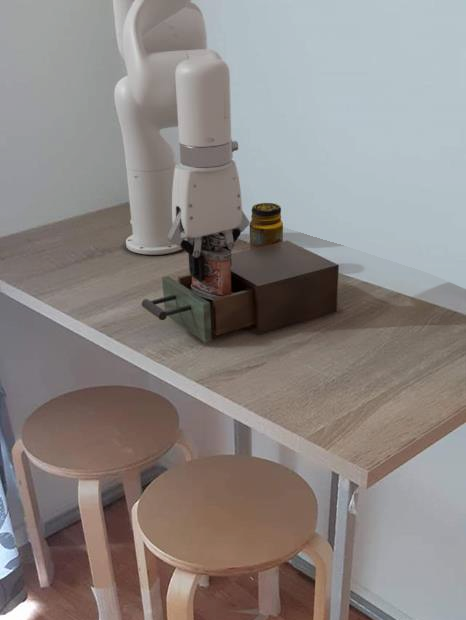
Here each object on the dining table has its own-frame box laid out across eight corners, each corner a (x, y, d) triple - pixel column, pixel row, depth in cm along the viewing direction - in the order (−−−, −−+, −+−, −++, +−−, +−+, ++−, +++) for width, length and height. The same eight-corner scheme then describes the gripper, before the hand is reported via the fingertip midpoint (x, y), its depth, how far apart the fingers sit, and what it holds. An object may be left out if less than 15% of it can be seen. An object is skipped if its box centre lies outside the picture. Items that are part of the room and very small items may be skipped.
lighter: (186, 291, 133) (182, 229, 127) (201, 285, 135) (198, 224, 129) (222, 304, 128) (220, 241, 122) (237, 297, 130) (236, 235, 124)
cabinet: (258, 334, 131) (257, 286, 126) (211, 304, 141) (209, 258, 136) (336, 311, 137) (338, 264, 133) (286, 284, 148) (287, 240, 143)
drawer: (172, 352, 124) (169, 313, 121) (133, 322, 134) (129, 285, 130) (282, 320, 133) (283, 283, 129) (239, 294, 142) (238, 258, 139)
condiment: (292, 272, 152) (293, 207, 145) (254, 283, 148) (253, 216, 142) (269, 261, 157) (269, 198, 150) (232, 271, 154) (230, 206, 147)
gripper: (241, 140, 125) (243, 257, 136) (142, 158, 118) (152, 279, 129) (268, 150, 120) (268, 271, 131) (166, 169, 113) (175, 295, 124)
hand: (210, 274), depth 130 cm, fingers closed on lighter, 4 cm apart
